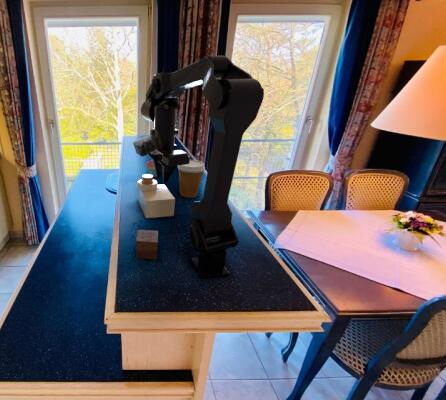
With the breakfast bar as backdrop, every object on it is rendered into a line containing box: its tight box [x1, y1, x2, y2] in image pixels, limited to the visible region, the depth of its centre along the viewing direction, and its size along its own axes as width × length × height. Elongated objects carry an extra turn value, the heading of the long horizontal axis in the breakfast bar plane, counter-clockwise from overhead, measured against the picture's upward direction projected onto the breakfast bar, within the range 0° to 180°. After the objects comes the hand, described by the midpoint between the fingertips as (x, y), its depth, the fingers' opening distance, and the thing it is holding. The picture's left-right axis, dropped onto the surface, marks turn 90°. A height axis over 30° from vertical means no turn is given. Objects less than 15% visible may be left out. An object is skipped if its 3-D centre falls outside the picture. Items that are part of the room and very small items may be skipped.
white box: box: [136, 178, 176, 219], centre depth 87 cm, size 13×10×8 cm
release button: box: [141, 173, 154, 185], centre depth 87 cm, size 4×4×3 cm
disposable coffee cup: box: [177, 159, 206, 199], centre depth 95 cm, size 10×10×12 cm
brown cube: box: [135, 229, 159, 260], centre depth 65 cm, size 5×5×5 cm
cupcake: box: [145, 159, 157, 178], centre depth 114 cm, size 9×8×12 cm
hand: (161, 179), depth 77 cm, fingers open, 4 cm apart
